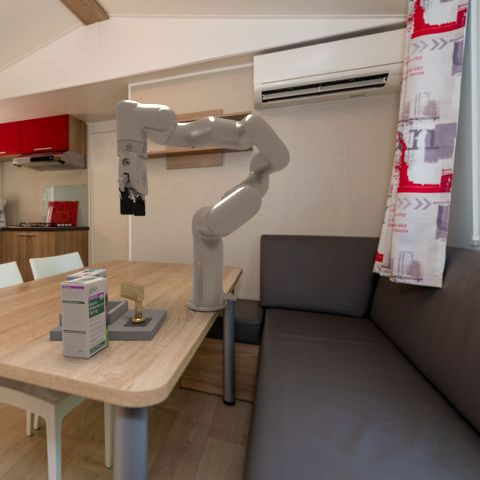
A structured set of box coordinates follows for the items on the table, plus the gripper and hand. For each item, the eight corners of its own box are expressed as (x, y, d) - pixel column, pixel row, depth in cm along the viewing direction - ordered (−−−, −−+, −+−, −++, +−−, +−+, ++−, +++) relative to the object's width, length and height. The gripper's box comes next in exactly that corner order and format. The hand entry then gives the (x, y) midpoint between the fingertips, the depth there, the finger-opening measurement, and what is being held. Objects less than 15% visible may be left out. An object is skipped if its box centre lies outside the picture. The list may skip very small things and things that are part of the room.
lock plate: (166, 316, 68) (166, 300, 68) (151, 340, 54) (151, 320, 54) (86, 316, 67) (86, 300, 66) (49, 340, 53) (49, 319, 53)
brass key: (136, 324, 56) (136, 288, 56) (117, 316, 61) (117, 283, 60) (148, 319, 59) (148, 285, 59) (129, 313, 63) (129, 280, 63)
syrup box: (88, 359, 46) (87, 283, 45) (60, 356, 47) (59, 281, 46) (109, 345, 51) (109, 276, 50) (84, 342, 52) (83, 275, 51)
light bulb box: (86, 301, 80) (86, 268, 79) (108, 301, 80) (107, 268, 79) (65, 313, 69) (65, 275, 68) (90, 313, 69) (90, 275, 69)
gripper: (136, 141, 58) (137, 214, 59) (155, 160, 75) (156, 216, 76) (102, 140, 57) (104, 214, 58) (129, 159, 74) (131, 216, 75)
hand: (133, 215), depth 67 cm, fingers open, 9 cm apart
